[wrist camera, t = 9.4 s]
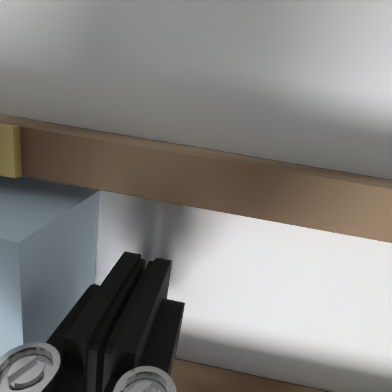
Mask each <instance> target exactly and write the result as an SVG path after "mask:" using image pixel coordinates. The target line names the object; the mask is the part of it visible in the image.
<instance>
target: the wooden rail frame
mask: <svg viewBox="0 0 392 392" xmlns="http://www.w3.org/2000/svg"><path fill="white" fill-rule="evenodd" d="M0 176H5V177H11V178H17V177H20V176H25V177H31V178H37V179H42V180H48V181H53V182H59V183H64V184H70V185H75V186H81V187H86V188H92V189H97V190H103V191H108V192H114V193H119V194H125V195H130V196H136V197H141V198H147V199H152V200H158V201H163V202H169V203H175V204H180V205H186V206H191V207H197V208H202V209H208V210H213V211H219V212H224V213H230V214H235V215H241V216H246V217H252V218H257V219H263V220H268V221H274V222H279V223H285V224H290V225H296V226H302V227H307V228H313V229H318V230H324V231H329V232H335V233H340V234H346V235H351V236H357V237H362V238H368V239H373V240H379V241H384V242H390V243H392V180H387V179H381V178H376V177H370V176H364V175H358V174H352V173H346V172H340V171H334V170H328V169H322V168H316V167H310V166H304V165H298V164H292V163H286V162H280V161H274V160H268V159H262V158H256V157H250V156H244V155H238V154H232V153H227V152H221V151H215V150H209V149H203V148H197V147H191V146H185V145H179V144H173V143H167V142H161V141H155V140H149V139H143V138H137V137H131V136H125V135H119V134H113V133H107V132H101V131H95V130H89V129H83V128H78V127H72V126H66V125H60V124H54V123H48V122H42V121H36V120H30V119H24V118H18V117H12V116H6V115H0ZM170 377H171V378H172V380H173V382H174V384H175V386H176V392H327V391H322V390H317V389H313V388H308V387H304V386H299V385H294V384H290V383H285V382H280V381H276V380H271V379H266V378H262V377H257V376H253V375H248V374H243V373H239V372H234V371H229V370H225V369H220V368H215V367H211V366H206V365H202V364H197V363H192V362H188V361H183V360H178V359H174V362H173V367H172V371H171V376H170Z"/></svg>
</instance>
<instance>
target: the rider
mask: <svg viewBox="0 0 392 392" xmlns="http://www.w3.org/2000/svg"><path fill="white" fill-rule="evenodd" d="M98 211H99V190H94V189H89V188H83V187H78V186H72V185H67V184H61V183H56V182H50V181H45V180H39V179H34V178H29V177H23V176H20V177H17V178H11V177H5V176H0V357H1V356H3V355H4V354H5V353H7V352H8V351H9V350H11V349H13V348H16V347H18V346H20V345H23V344H27V343H32V342H42V343H46V341H47V340H48V339H49V337H50V336H51V335H52V334H53V332H54V331H55V330H56V328H57V327H58V326H59V325H60V323H61V322H62V321H63V319H64V318H65V317H66V316H67V314H68V313H69V312H70V310H71V309H72V308H73V306H74V305H75V304H76V303H77V301H78V300H79V299H80V297H81V296H82V295H83V294H84V292H85V291H86V290H87V288H88V287H89V286H90V285H92V284H95V276H96V254H97V232H98Z"/></svg>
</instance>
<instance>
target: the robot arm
mask: <svg viewBox="0 0 392 392" xmlns="http://www.w3.org/2000/svg"><path fill="white" fill-rule="evenodd" d="M145 264H146V260H144V259H141V255H140V254H135V253H130V252H124V253H123V255H122V256H121V257H120V259H119V260H118V262H117V263H116V264H115V266H114V267H113V269H112V270H111V271H110V273H109V274H108V276H107V277H106V278H105V280H104V281H103V282H102V284H101V285H95V284H92V285H90V286H89V287H88V288H87V290H86V291H85V292H84V294H83V295H82V296H81V297H80V299H79V300H78V301H77V303H76V304H75V305H74V306H73V308H72V309H71V310H70V312H69V313H68V314H67V316H66V317H65V318H64V319H63V321H62V322H61V323H60V325H59V326H58V327H57V328H56V330H55V331H54V332H53V334H52V335H51V336H50V337H49V339H48V340H47V341H46V343H42V342H32V343H27V344H23V345H20V346H18V347H16V348H13V349H11V350H9V351H8V352H7V353H5V354H4V355H3V356H1V357H0V392H176V386H175V384H174V382H173V380H172V378H171V377H170V376H171V371H172V367H173V362H174V358H175V353H176V349H177V344H178V339H179V334H180V329H181V323H182V318H183V312H184V305H185V303H183V302H178V301H173V300H168V299H167V292H168V285H169V278H170V271H171V264H172V261H171V260H166V259H161V258H156V259H155V261H149V262H148V264H147V266H146V268H145Z"/></svg>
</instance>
